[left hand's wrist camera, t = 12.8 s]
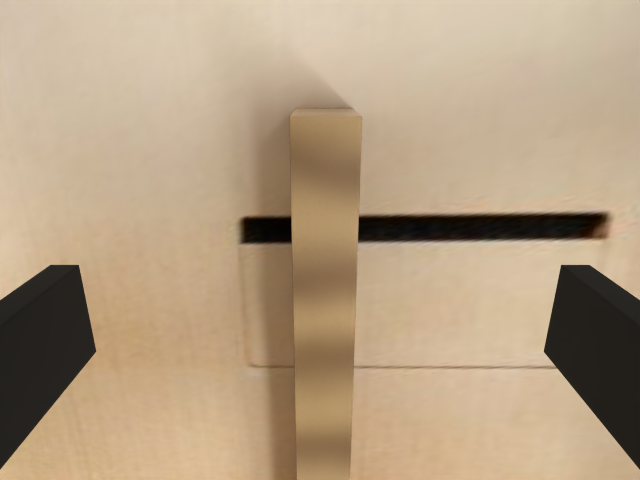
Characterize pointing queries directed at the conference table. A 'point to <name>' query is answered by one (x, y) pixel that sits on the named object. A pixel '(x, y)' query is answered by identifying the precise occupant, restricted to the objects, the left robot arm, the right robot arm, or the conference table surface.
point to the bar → (324, 284)
